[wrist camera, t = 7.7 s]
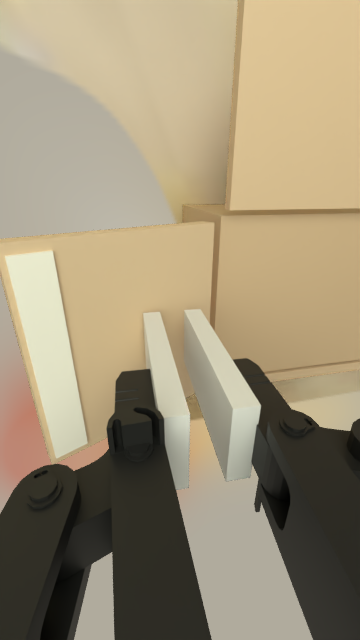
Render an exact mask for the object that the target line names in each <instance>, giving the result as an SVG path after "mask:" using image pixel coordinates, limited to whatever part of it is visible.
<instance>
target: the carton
mask: <svg viewBox="0 0 360 640" xmlns="http://www.w3.org/2000/svg"><path fill="white" fill-rule="evenodd" d="M200 221H205V222H213V223H215V224H214V244H213V264H212V284H211V304H210V325H211V327H212V328H213V330H214V331H215V333H216V335H217V336H218V338H219V339H220V341H221V343H222V344H223V346H224V347H225V349H226V350H227V352H228V354H229V355H230V357H231V358H232V360H233V359H243V358H248V359H250V360H251V361H253V362H254V363H256V364H257V365H258V366H259V367H260V368H261V369H262V371H263V372H264V373H265V376H267V377H268V379H269V380H270V382H275V381H282V380H290V379H297V378H304V377H311V376H319V375H326V374H333V373H340V372H348V371H355V370H360V0H238V9H237V25H236V41H235V56H234V72H233V88H232V104H231V120H230V136H229V152H228V168H227V183H226V199H225V204H205V205H183V223H189V222H200Z"/></svg>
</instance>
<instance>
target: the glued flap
mask: <svg viewBox="0 0 360 640" xmlns="http://www.w3.org/2000/svg"><path fill="white" fill-rule="evenodd" d="M214 224H215V223H213V222H205V221H200V222H189V223H177V224H166V225H155V226H143V227H132V228H121V229H108V230H97V231H85V232H74V233H63V234H52V235H40V236H30V237H17V238H5V239H0V277H1V281H2V285H3V288H4V292H5V295H6V300H7V303H8V307H9V311H10V315H11V318H12V322H13V326H14V329H15V333H16V337H17V341H18V344H19V348H20V352H21V356H22V359H23V363H24V367H25V371H26V374H27V378H28V382H29V385H30V389H31V393H32V397H33V400H34V404H35V408H36V412H37V415H38V419H39V423H40V427H41V430H42V434H43V438H44V441H45V445H46V449H47V453H48V455H49V458H50V460H51V463H52V465H53V464H56V463H57V462H60V461H62V460H64V459H66V458H68V457H69V456H72V455H74V454H76V453H78V452H79V451H82V450H84V449H85V448H88V447H90V446H92V445H93V444H95V443H98V442H100V441H101V440H104V439H106V438H108V437H107V430H106V428H107V424H108V420H109V419H110V417H111V416H112V415H113V414H114V412H115V385H116V380H117V378H118V377H119V375H120V374H121V372H122V371H132V370H142V369H146V356H145V339H144V322H143V313H149V312H160V314H161V317H162V320H163V324H164V327H165V331H166V334H167V338H168V341H169V344H170V348H171V351H172V355H173V358H174V361H175V365H176V368H177V372H178V375H179V378H180V382H181V385H182V389H183V392H184V396H185V399H186V398H188V397H190V396H192V395H194V394H195V391H194V389H193V386H192V383H191V380H190V377H189V374H188V371H187V368H186V366H185V363H184V310H192V309H201V311H202V312H203V314H204V315H205V317H206V319H207V320H208V322H209V323H210V304H211V284H212V264H213V244H214Z"/></svg>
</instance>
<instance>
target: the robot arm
mask: <svg viewBox="0 0 360 640" xmlns="http://www.w3.org/2000/svg"><path fill="white" fill-rule="evenodd" d="M143 322H144V339H145V356H146V369H142V370H132V371H122V372H121V374H120V375H119V377H118V378H117V380H116V385H115V412H114V414H113V415H112V416H111V417H110V419H109V420H108V424H107V428H106V430H107V437H108V444H109V449H108V451H107V452H106V453H105V454H104V455H103V456H102V457H100V458H99V459H98V460H97V461H95V462H93V463H91V464H89V465H87V466H85V467H83V468H80V469H78V470H75V471H73V470H72V469H70V468H69V467H68V466H65V465H60V464H53V465H47V466H43V467H41V468H39V469H37V470H34V471H33V472H31V473H30V474H29V475H27V476H26V477H25V478H23V479H22V480H21V481H20V483H19V484H18V485H17V487H16V488H15V489H14V490H13V492H12V494H11V496H10V497H9V499H8V501H7V503H6V505H5V507H4V509H3V510H2V512H1V514H0V640H74V637H75V632H76V628H77V624H78V620H79V615H80V611H81V607H82V603H83V598H84V594H85V590H86V586H87V582H88V578H89V573H90V569H91V565H92V563H94V562H96V561H97V560H99V559H101V558H102V557H104V556H106V555H108V554H109V553H111V552H113V553H112V554H113V593H114V632H115V633H114V634H115V640H212V639H211V635H210V631H209V628H208V623H207V619H206V614H205V610H204V606H203V602H202V598H201V593H200V589H199V585H198V581H197V576H196V573H195V568H194V564H193V560H192V556H191V552H190V547H189V543H188V539H187V535H186V530H185V526H184V522H183V518H182V514H181V510H180V505H179V501H178V497H177V493H176V490H179V489H185V488H189V445H190V444H189V443H190V413H189V409H188V406H187V402H186V399H185V396H184V392H183V389H182V385H181V382H180V378H179V375H178V372H177V368H176V365H175V361H174V358H173V355H172V351H171V348H170V344H169V341H168V338H167V334H166V331H165V327H164V324H163V320H162V317H161V314H160V312H149V313H143ZM184 363H185V366H186V368H187V371H188V374H189V377H190V380H191V383H192V386H193V389H194V391H195V394H196V397H197V400H198V403H199V406H200V409H201V412H202V414H203V417H204V420H205V423H206V426H207V429H208V432H209V435H210V437H211V440H212V443H213V446H214V449H215V452H216V455H217V458H218V460H219V463H220V466H221V469H222V472H223V474H224V478H225V481H232V480H238V479H244V478H250V476H251V470H252V464H253V466H254V469H255V471H256V473H257V475H258V477H259V480H258V486H257V491H256V498H255V503H254V505H255V511H256V512H259V511H260V506H261V502H262V505H263V508H264V510H265V513H266V516H267V518H268V521H269V524H270V526H271V529H272V532H273V534H274V537H275V540H276V542H277V545H278V548H279V550H280V553H281V556H282V558H283V561H284V564H285V566H286V569H287V571H288V574H289V577H290V579H291V582H292V585H293V587H294V590H295V593H296V595H297V598H298V601H299V603H300V606H301V608H302V611H303V614H304V617H305V619H306V622H307V624H308V627H309V630H310V633H311V635H312V638H313V640H360V419H358V420H357V421H355V422H354V423H353V424H352V428H351V431H344V430H335V429H327V428H322V427H319V425H318V424H317V423H316V422H315V421H314V420H313V419H312V418H311V417H309V416H307V415H306V414H304V413H302V412H298V411H295V410H292V409H291V408H290V407H289V405H288V404H287V403H286V401H285V400H284V399H283V397H282V396H281V395H280V393H279V392H278V391H277V389H276V388H275V387H274V385H273V384H272V383H270V380H269V379H268V377H267V376H265V373H264V372H263V371H262V369H261V368H260V367H259V366H258V365H257V364H256V363H254V362H253V361H251V360H250V359H248V358H243V359H233V360H232V358H231V357H230V355H229V354H228V352H227V350H226V349H225V347H224V346H223V344H222V343H221V341H220V339H219V338H218V336H217V335H216V333H215V331H214V330H213V328H212V327H211V325H210V323H209V322H208V320H207V319H206V317H205V315H204V314H203V312H202V311H201V309H192V310H184Z"/></svg>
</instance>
